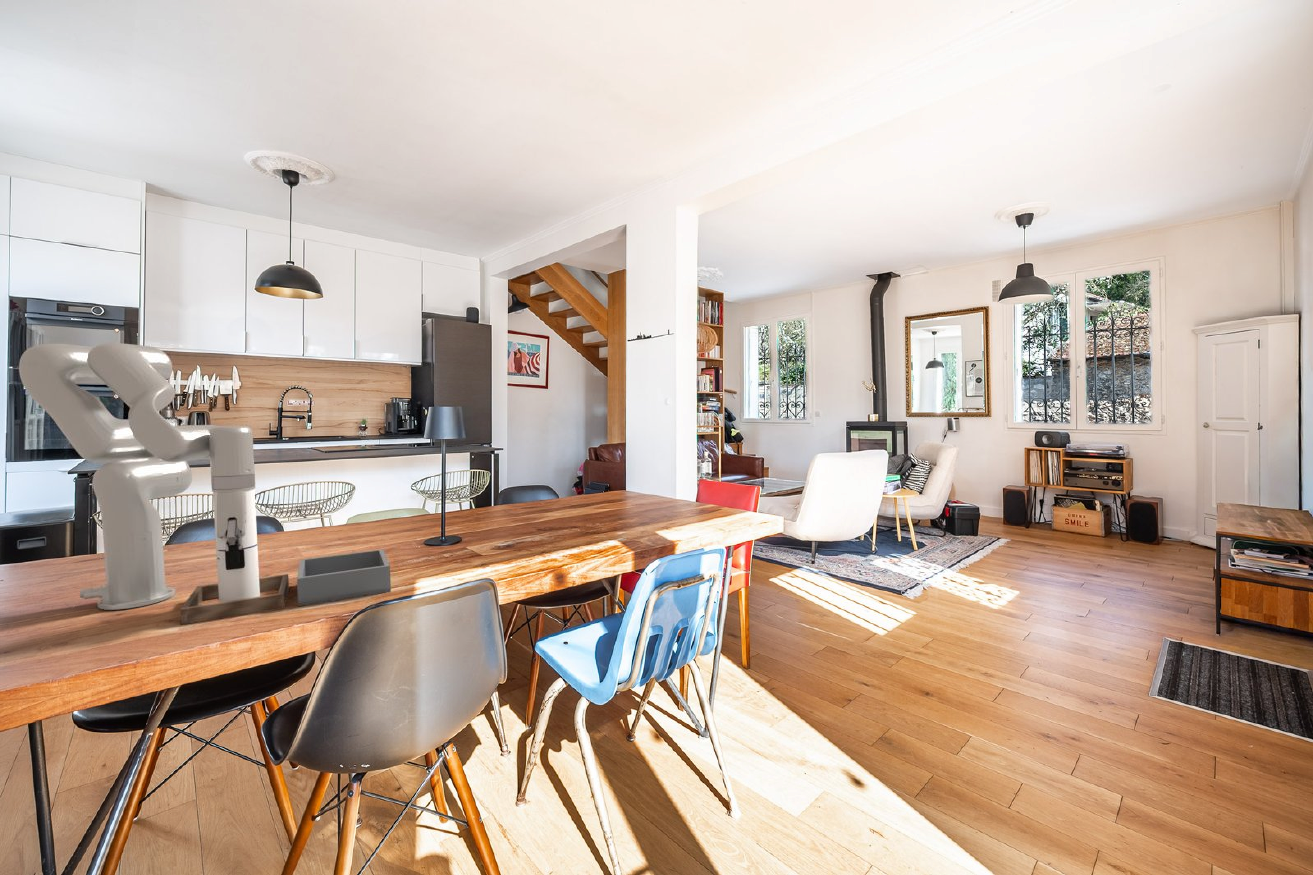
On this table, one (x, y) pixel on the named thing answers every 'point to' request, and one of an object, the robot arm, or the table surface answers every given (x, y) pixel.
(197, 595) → the walnut frame
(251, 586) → the cylindrical container
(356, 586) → the charcoal bin
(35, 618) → the table surface
